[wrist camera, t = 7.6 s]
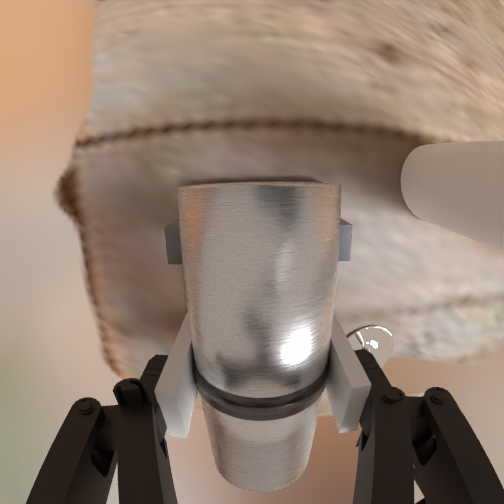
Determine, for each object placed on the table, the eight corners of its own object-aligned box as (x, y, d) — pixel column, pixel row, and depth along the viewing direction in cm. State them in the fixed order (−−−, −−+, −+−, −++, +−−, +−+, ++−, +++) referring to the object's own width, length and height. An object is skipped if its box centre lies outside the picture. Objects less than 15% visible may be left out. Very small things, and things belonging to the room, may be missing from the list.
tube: (301, 418, 18) (317, 486, 12) (215, 422, 17) (210, 493, 11) (317, 182, 13) (373, 188, 7) (190, 184, 13) (152, 191, 7)
